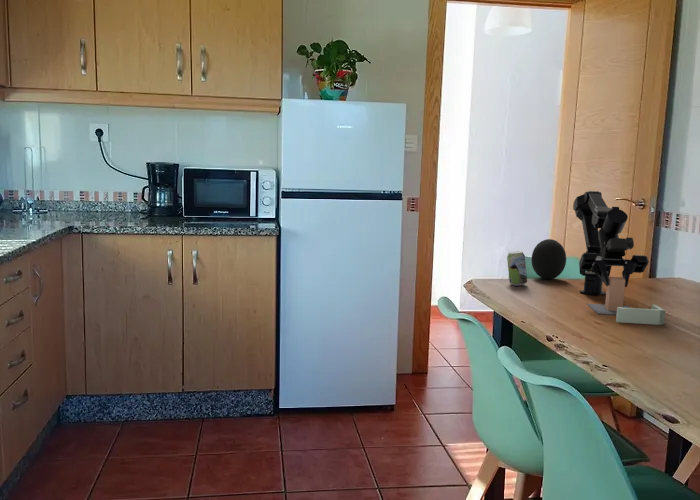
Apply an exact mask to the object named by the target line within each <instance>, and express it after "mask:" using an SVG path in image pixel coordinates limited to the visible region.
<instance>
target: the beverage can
mask: <svg viewBox="0 0 700 500" xmlns="http://www.w3.org/2000/svg"><path fill="white" fill-rule="evenodd" d="M506 258H507V269H508V270H507V271H508V279H509V280H508V281H509V284H510V285H512V286H524V285H526V283H528V276H527V275H528V274H527V265H526V263H527V262H526V255H525V254H524V252H523V251H522V250H521V251H519V250H518V251H517V250H516V251H511V252H508V255H507V257H506Z"/></svg>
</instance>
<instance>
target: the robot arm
mask: <svg viewBox="0 0 700 500" xmlns="http://www.w3.org/2000/svg"><path fill="white" fill-rule="evenodd" d="M572 207H573V208H572V209H573V210H574V213H575V216H576V218H577V219H579V220H580V221H581V223H582V230H583V236H584V241H585V247H586V252H583V253H582V254H581V256H580V259H579V262H578V267H579V275H581V276H584V282H583V289H582V290H579V293H581V294H587V295H593V296H601V295H604V294H605V295H606V291H603V284H605V286H606V287H607V286H609V280H608V277H610V276H611V271H612V267H623V270H622V272H621V275H622V276H621V277H622V278H624V279H625V288H627V287H628V284H629V279H630V275H633V274H635V273H637V274H640V273H641V274H642V273H644V272H645V270H646V268H647V267H648V264H649V258H648V257H647V255H644V254H643V255H642V254H633V255H632V256H631V258H630V259H626V258H623V257H626V251H628V250H632V249H633V248H634V247H635V244H634V243H635V242H634V239H633V237H626V238H619V236H620V235H619V234H621V233H622V232H623V229H624V227H625V225H626V223H627V220H628V214H627V213H626V212H625V211H623V210H622V209H620V206H612V207H609V206H608V205H607V204H606V202H605V200H604V198H603V197H602V192H601V191H597V190H596V191H595V190H594V191H593V190H587V191H585V192H584V193H583V194H581V195H578V196H577V197H575V200H574V201H573V206H572Z"/></svg>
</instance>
